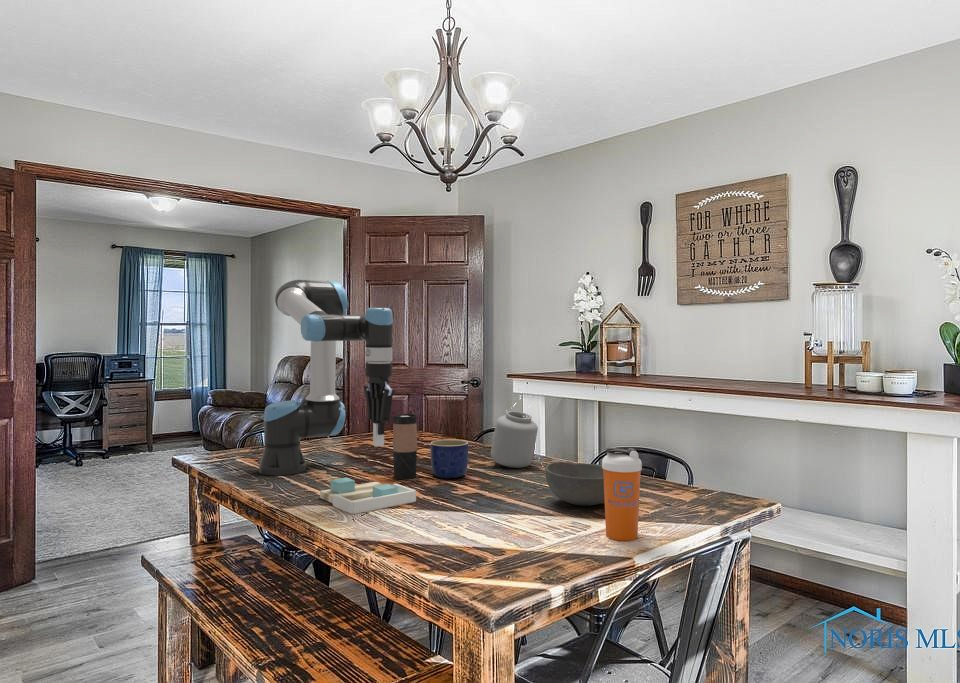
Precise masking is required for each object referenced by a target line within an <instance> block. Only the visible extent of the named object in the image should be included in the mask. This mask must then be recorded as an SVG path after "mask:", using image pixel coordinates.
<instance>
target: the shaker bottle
mask: <svg viewBox="0 0 960 683" xmlns="http://www.w3.org/2000/svg"><path fill="white" fill-rule="evenodd" d="M604 450H605V451H606V455H605V456H604V457H603V458H602V461H601V465H602V469H603V478H604V500H605V502H604V516H605V517H604V519H605V535H606V537H607V538H609V539H611V540H614V541H618V542H619V541H623V542H628V541H634V540H636V539H638V535H639V534H638V533H639V516H640V515H639V512H640V510H639V508H640V495H641V491H640V490H641V472H642V470H643V463H642V460H641V458H639V453H638V452H637V450H636V449H635V448H633V447H630V448H627V449H626V448H625V449H624V448H618V447H617V448H616V447H608V448H605V449H604Z"/></svg>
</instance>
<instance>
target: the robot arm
mask: <svg viewBox="0 0 960 683" xmlns="http://www.w3.org/2000/svg"><path fill="white" fill-rule="evenodd" d="M274 302H275V306H276V308H277V310H278V311H279V312H280V313H282V314H283V315H285V316H287V317H290V318H292V319H293V320H294V321H296V322H297V323H298V324H299V325H300V333H301V337H302V339H303V340H304V341H307V342H308V341H309V342H310V362H309V363H310V364H309V365H310V367H309V370H310V371H309V376H310V378H309V380H310V381H309V393H308V394H307V396H306V397H305V401H304V402H305V403H301V401H300V400H299V399H297V400H296V399H295V400H294V399H293V400H283V401H278V402H274V403H273V402H272V403H270V404H268V405H267V406H266V407H265V408H264V415H263V422H264V423H263V426H264V427H263V428H264V429H263V430H264V431H263V432H264V435H263V436H264V438H263V439H264V442H263V443H264V450H263V452H262V455H261V458H260V461H259V465H258V473H259V474H261V475H264V476H265V475H266V476H286V475H288V476H289V475H295V474H300V473H303V472H305V471H306V470H307V468H306V467H307V464H306V460H305V457H304V454H303V450H302V448H301V439H305V438H306V439H307V438H318V437H320V438H321V437H329V436H336V435H338V434H339V433H340V432H342V430H343V428H344V426H345V420H346V410H345V409H346V407H345V404H344V403H343V402H342V401H340V396H338V395H337V393H336V372H337V371H336V364H337V361H336V359H337V342H345V341H346V342H350V341H351V342H355V341H356V342H357V341H358V342H365V351H364V354H365V362H367V363H366V364H365V370H364V373H365V377H367V378H368V384H367V385H364V386H363V390H364V393H365V400H366V409H367V418H368V420H371V423H372V446H374V447H384V446H385V423H388V422H389V421H390V419H391V418H390V416H391V410H392V402H393V396H394V394H395V388H394V387H393V388H391V386H390V382H389V381H390V380H389V378H391V376H392V375H393V364H392V363H391V362H392V361H393V323H394V319H393V311H392V309H391V308H389V307H368V308H366V310H365V314H363V315H362V314H347V311H348V296H347V292H346V290H345V288H344V286H343V285H342V283H340V282H338V281H333V280H311V279H310V280H309V279H294V280H289V281H288V282H286V283H284V284H283V285H281V286H280V287H279V288H278V289H277V290H276V293H275V296H274Z"/></svg>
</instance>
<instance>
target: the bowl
mask: <svg viewBox="0 0 960 683" xmlns="http://www.w3.org/2000/svg"><path fill="white" fill-rule="evenodd" d="M544 469H545V473H544V474H545V479H546V484H547V485H548V487H549V489H550V491H551V492H552V494H553V495H555V497H556V498H559V500H562V501H563V502H565V503H567V504H571V505H575V506H583V507H590V506H595V505H599V504H603V503H605V500H604V478H603V469H602V464H597V463H584V462H583V463H582V462H579V463H578V462H576V463H575V462H574V463H573V462H563V461H555V462H551V463H548V464H547V465H546V466H545V468H544Z"/></svg>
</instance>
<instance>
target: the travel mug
mask: <svg viewBox="0 0 960 683" xmlns="http://www.w3.org/2000/svg"><path fill="white" fill-rule="evenodd" d="M392 419H393V425H392V428H393V430H392V431H393V432H392V434H393V436H392V439H393V440H392V441H393V442H392V454H393V456H392V458H393V459H392V460H393V478H395V479H397V480H410V479H411V480H412V479H414V478H416V477H417V463H418V461H417V460H418V456H417V455H418V436H417V433H418V432H417V430H418V428H417V427H418V426H417V424H418V423H417V415H416V414H413V413H404V414H402V415H397V414H394V415H393V418H392Z"/></svg>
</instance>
